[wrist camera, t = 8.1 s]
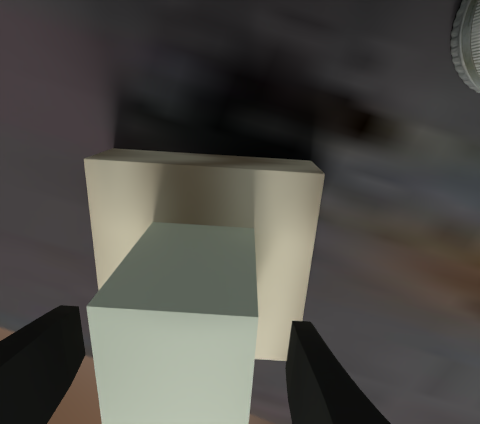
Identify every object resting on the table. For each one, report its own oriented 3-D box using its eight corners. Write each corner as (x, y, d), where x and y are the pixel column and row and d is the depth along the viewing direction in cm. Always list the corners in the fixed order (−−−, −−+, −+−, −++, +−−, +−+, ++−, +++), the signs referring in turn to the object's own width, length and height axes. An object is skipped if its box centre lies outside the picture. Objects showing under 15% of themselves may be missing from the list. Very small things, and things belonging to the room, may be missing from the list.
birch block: (310, 160, 16) (324, 173, 13) (288, 322, 19) (295, 361, 16) (113, 148, 16) (83, 158, 13) (126, 312, 19) (105, 349, 16)
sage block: (254, 228, 14) (258, 317, 8) (247, 312, 15) (247, 436, 10) (152, 221, 14) (86, 306, 8) (156, 306, 15) (102, 427, 10)
